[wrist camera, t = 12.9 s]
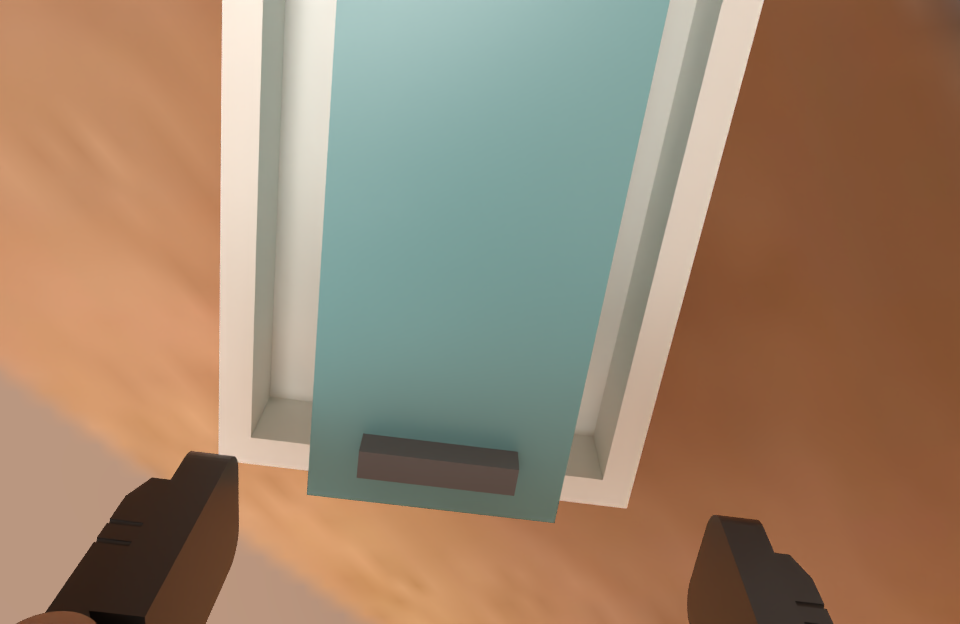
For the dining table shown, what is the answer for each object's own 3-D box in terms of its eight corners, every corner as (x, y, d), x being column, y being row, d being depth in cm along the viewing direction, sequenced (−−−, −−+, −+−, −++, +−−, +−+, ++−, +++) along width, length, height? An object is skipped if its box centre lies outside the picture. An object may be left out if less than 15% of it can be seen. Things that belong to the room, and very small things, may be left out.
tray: (794, -275, 16) (847, -311, 14) (612, 451, 24) (626, 508, 21) (264, -367, 16) (225, -422, 13) (245, 406, 23) (218, 460, 21)
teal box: (642, -177, 16) (733, -243, 10) (537, 377, 22) (557, 543, 16) (398, -216, 16) (347, -309, 10) (351, 354, 22) (300, 514, 16)
